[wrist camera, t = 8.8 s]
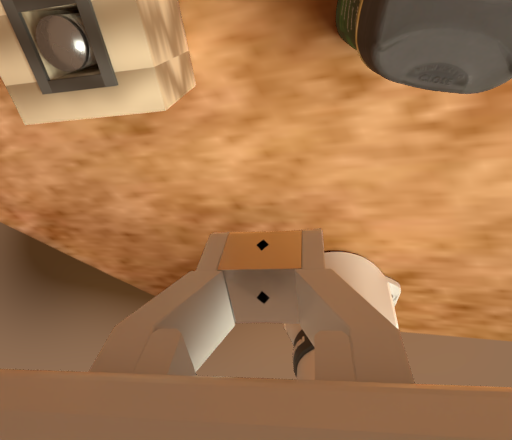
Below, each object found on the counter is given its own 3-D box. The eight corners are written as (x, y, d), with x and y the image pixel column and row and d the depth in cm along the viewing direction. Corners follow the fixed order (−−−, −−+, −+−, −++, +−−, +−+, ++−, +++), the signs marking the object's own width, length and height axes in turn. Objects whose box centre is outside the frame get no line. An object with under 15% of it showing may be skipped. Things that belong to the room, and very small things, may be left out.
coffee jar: (326, 44, 34) (346, 84, 18) (349, -57, 29) (401, -115, 14) (423, 60, 34) (523, 114, 18) (460, -39, 29) (636, -79, 14)
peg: (141, 51, 36) (93, 68, 28) (107, 56, 36) (49, 74, 28) (129, 7, 34) (72, 11, 25) (93, 13, 34) (26, 19, 26)
